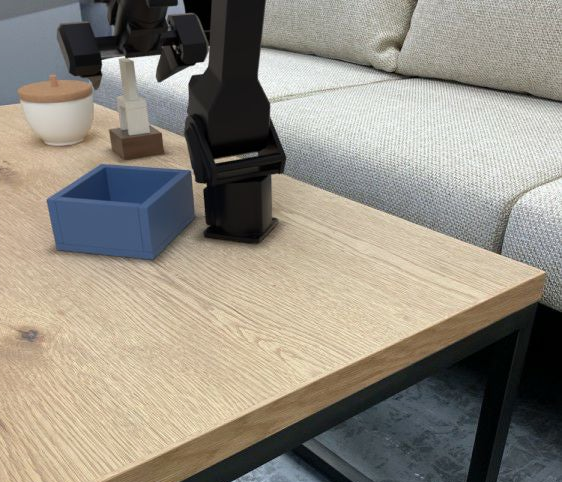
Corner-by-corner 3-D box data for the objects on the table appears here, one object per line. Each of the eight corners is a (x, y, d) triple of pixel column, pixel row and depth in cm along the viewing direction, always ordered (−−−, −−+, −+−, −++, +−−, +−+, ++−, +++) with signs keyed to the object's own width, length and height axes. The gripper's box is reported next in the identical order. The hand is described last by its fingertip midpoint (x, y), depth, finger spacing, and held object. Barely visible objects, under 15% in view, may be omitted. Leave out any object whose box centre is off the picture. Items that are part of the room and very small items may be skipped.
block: (164, 153, 102) (162, 132, 100) (124, 160, 99) (121, 138, 97) (150, 143, 106) (147, 123, 104) (111, 149, 104) (108, 129, 102)
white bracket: (149, 132, 100) (141, 60, 95) (129, 135, 99) (120, 63, 93) (140, 126, 103) (131, 56, 98) (120, 129, 102) (110, 58, 97)
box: (195, 217, 81) (191, 169, 77) (153, 260, 71) (147, 207, 68) (108, 209, 83) (101, 163, 80) (56, 250, 73) (45, 199, 70)
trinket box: (26, 135, 111) (12, 71, 106) (94, 128, 114) (84, 66, 109) (31, 153, 102) (16, 85, 97) (104, 145, 105) (94, 79, 100)
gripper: (193, -58, 88) (170, 27, 103) (44, -53, 81) (41, 39, 95) (223, 18, 87) (195, 94, 101) (74, 31, 80) (67, 111, 94)
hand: (126, 83), depth 98 cm, fingers open, 9 cm apart
